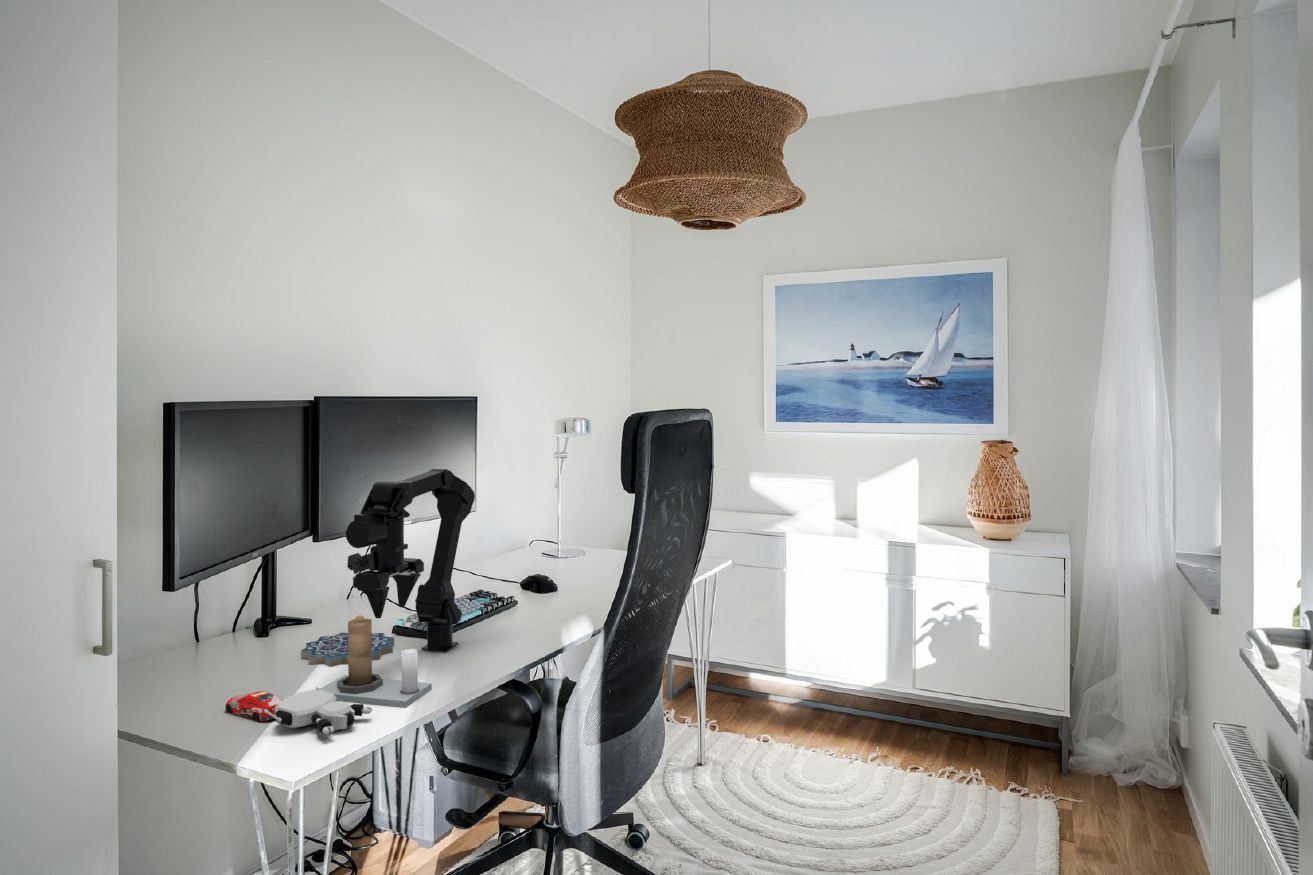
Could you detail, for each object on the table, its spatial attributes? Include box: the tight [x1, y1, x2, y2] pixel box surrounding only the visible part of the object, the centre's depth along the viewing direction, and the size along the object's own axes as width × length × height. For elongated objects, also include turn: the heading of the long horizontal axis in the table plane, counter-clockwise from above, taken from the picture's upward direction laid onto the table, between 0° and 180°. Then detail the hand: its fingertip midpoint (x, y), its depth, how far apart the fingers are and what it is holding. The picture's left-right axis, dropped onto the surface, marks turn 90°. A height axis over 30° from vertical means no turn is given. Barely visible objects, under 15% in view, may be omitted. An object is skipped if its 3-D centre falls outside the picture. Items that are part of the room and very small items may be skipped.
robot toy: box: [264, 686, 373, 735], centre depth 140 cm, size 12×4×15 cm
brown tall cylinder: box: [347, 614, 373, 687], centre depth 156 cm, size 4×4×14 cm
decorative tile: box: [300, 632, 395, 668], centre depth 182 cm, size 20×20×2 cm
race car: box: [225, 690, 284, 722], centre depth 146 cm, size 13×5×4 cm, turn 61°
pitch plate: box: [319, 648, 433, 708], centre depth 155 cm, size 10×20×9 cm, turn 77°
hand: (390, 612), depth 168 cm, fingers open, 9 cm apart
